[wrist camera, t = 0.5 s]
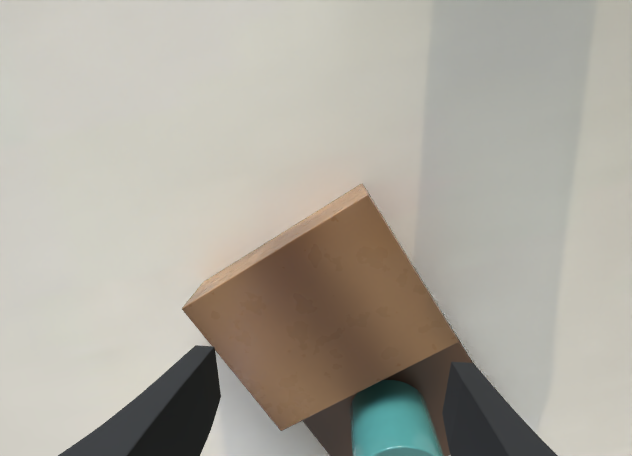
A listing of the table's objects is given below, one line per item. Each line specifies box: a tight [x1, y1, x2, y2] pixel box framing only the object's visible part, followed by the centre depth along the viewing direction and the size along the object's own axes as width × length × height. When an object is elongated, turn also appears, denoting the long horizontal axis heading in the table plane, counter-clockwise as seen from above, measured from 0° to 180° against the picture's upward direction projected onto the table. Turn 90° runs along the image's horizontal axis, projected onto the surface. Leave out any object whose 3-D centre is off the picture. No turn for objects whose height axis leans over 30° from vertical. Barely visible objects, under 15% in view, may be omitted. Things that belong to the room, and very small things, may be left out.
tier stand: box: [182, 184, 473, 456], centre depth 21 cm, size 11×18×3 cm, turn 33°
